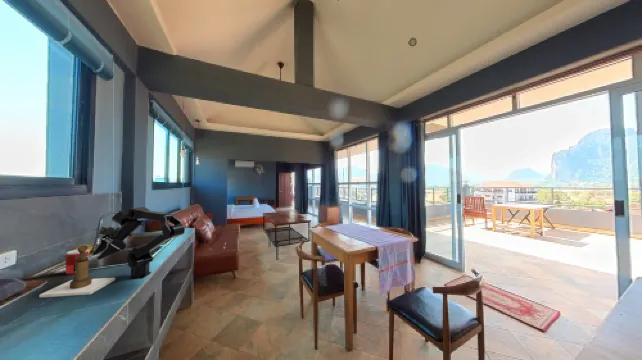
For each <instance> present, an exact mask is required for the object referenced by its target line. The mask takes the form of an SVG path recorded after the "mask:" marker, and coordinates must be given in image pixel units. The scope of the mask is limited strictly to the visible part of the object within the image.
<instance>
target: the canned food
mask: <svg viewBox="0 0 642 360" xmlns="http://www.w3.org/2000/svg"><path fill="white" fill-rule="evenodd" d="M65 255H66V256H65V274H66V275H75V265H76V261H79V260H80V259H79V256H80V253H79V252H78V248H77V249H73V250H69V251H67V252H66V253H65ZM85 255H86V258H85V259H89V249H87V250H86V252H85Z"/></svg>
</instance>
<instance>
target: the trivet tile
mask: <svg viewBox="0 0 642 360" xmlns="http://www.w3.org/2000/svg"><path fill="white" fill-rule="evenodd" d="M73 280H74V279H70V280H68V281H67V282H64V283H61V284H60V285H57V286H55V287H53V288H51V289H49V290H46V291H45V292H42V293H40V294H39V298H51V297H53V298H55V297H70V296H85V295H87V296H88V295H92V294H94V293H95V292H97V291H99V290H101V289H102V288H104V287H105V286H108V285H110V284H111V283H112V282H114V281H116V278H115V277H105V278H104V277H103V278H92V283H91V284H90V285H88V286H85V287H81V288H75V289H71V288H70V282H71V281H73Z"/></svg>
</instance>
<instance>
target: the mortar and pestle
mask: <svg viewBox="0 0 642 360" xmlns="http://www.w3.org/2000/svg"><path fill="white" fill-rule="evenodd" d="M77 249H78V252H79V253H80V256H79V259H80V260H79V261H76V265H75V274H74V278H73V279H72V280H73V281H71V282H70V288H71V289H75V288H81V287H85V286H88V285H90V284H91V283H92V279H93V278H92V277H91V276H89V262H90V260H89V259H90V258H88V259H85V258H86V255H85V252H86V250H87V249H88V246H87V245H80V246H78V247H77ZM88 250H89V249H88Z"/></svg>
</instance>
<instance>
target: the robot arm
mask: <svg viewBox="0 0 642 360" xmlns="http://www.w3.org/2000/svg"><path fill="white" fill-rule="evenodd" d="M140 219H142V220H140ZM145 219H146V220H151V221H158V222H160V229H161V231H162V232H161V234H160V235H158V236H156V237H155V238H153V239H151V241H149V242H148V243H146V244H145V243H144V244H141V245H137V246H134V247H133V248H132V249H129V250H128V253H127V254H126V263H127V266H128V267H130V277H129V278H128V279H129V280H131V279H144V278H146V277H147V276H149V275H150V274H151V273H152V271H150V262H153V261H154V256H153V255H152V251H154V250H156V249H158V248H159V247H161V246H162V245H163V244H165V243H166V242H168V241H169V240H172V239H175V238H177V237H179V236H182V235H184V234H185V231H186V227H185V226H184V225H183V223H182V221H181V220H180V219H178V218H177V217H175V216H174V214H173V213H171V212H163V211H157V210H155V211H154V210H150V209H149V208H148V207H145V206H139V207H130V208H129V207H128V210H126V211H125V210H124V209H123V210H118V213H115V214H114V215H112V218H111V220H112V221H113V222H114V223H116V224H117V225H119V226H118V227H115V228H114V227H113V226H107V227H106V226H103V225H102V226H100V228H99V229H98V231H97V232H96V233H97V234H99V235H100V238H99V244H98V245H97V247H96V248H95V249H94V251H92V253H91V254H92V256H95V255H98V254H99V255H98V256H97V258H96V260H99V261H100V260H101V259H103V258H106V257H108V256H111V255H113V254H115V253H118V252H121V251H124V249H125V248H127V244H126V243H125V240H126V239H127V238H129V237H132V235H133V233H134V232H136V230H138V229H139V228H140V227H141V226H142V227H143V228H145V227H146V221H145ZM167 222H169V223H170V224H172V225H168V223H167Z"/></svg>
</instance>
